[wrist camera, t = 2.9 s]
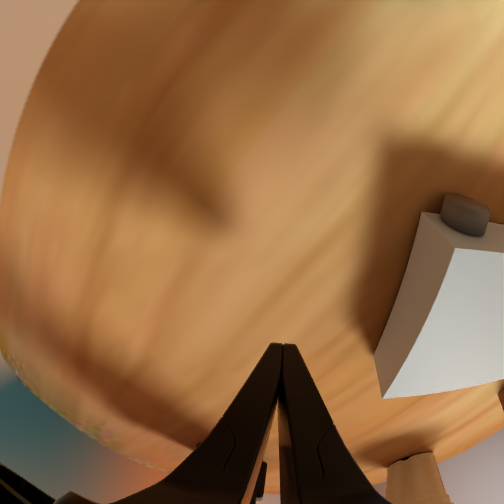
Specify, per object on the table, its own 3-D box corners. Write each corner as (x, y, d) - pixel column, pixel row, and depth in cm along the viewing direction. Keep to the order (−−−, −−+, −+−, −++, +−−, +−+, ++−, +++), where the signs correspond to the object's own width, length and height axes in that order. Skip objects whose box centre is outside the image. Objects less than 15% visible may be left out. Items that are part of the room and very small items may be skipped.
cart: (368, 364, 14) (375, 408, 11) (425, 188, 9) (463, 220, 6) (485, 353, 13) (499, 386, 10) (550, 217, 8) (582, 244, 6)
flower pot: (436, 459, 25) (443, 509, 17) (374, 476, 27) (375, 528, 20) (452, 438, 20) (463, 500, 13) (376, 460, 23) (379, 525, 16)
